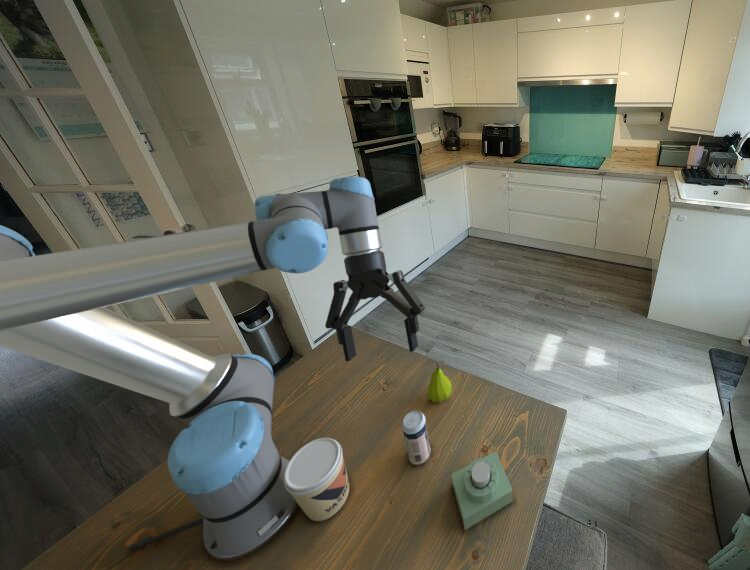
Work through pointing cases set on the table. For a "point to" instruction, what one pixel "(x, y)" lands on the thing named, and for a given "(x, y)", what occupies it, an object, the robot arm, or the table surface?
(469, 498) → the grey button cap base
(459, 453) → the table surface
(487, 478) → the grey button cap
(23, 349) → the robot arm
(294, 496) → the ice cream tub
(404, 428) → the beer can
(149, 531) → the table surface
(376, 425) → the table surface
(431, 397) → the fruit
